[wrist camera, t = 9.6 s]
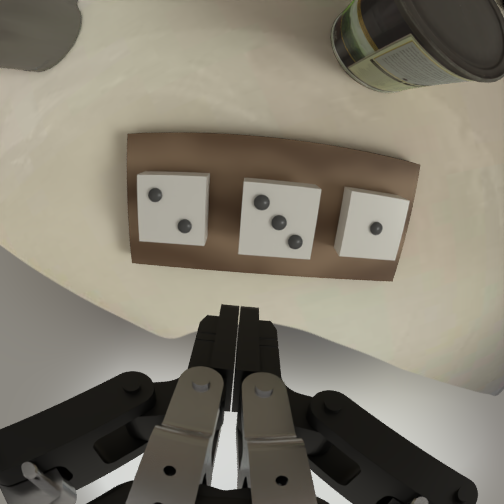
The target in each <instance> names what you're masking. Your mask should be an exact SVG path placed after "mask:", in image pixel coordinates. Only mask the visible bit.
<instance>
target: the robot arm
mask: <svg viewBox="0 0 504 504" xmlns="http://www.w3.org/2000/svg"><path fill="white" fill-rule="evenodd" d="M77 2H78V0H0V68H8V69H18V70H24V71H36V72H41V71H45V70H48V69H50V68H52V67H53V66H54V65H56V64H57V63H58V62H59V61H60V60H62V59H63V58H64V56H65V55H66V54H67V53H68V52H69V50H70V49H71V47H72V46H73V44H74V42H75V40H76V38H77V36H78V34H79V31H80V27H81V13H80V10H79V9H78V7H77ZM238 315H239V306H233V305H223V304H222V305H221V309H220V315H219V316H211V315H207V316H206V317H205V318H204V319H203V320H202V321H201V322H200V324H199V328H198V332H197V335H196V340H195V343H194V347H193V351H192V355H191V358H190V362H189V366H188V369H187V370H186V371H184V372H183V373H182V374H181V376H180V377H179V378H178V379H175V380H172V381H167V382H155V383H153V382H152V380H151V379H150V378H149V377H148V376H147V375H145V374H143V373H141V372H135V371H130V372H125V373H122V374H120V375H118V376H116V377H114V378H112V379H110V380H108V381H106V382H104V383H102V384H100V385H98V386H96V387H94V388H91V389H89V390H87V391H85V392H83V393H81V394H79V395H77V396H75V397H73V398H71V399H69V400H67V401H64V402H62V403H60V404H58V405H56V406H53V407H51V408H49V409H47V410H45V411H42V412H40V413H38V414H35V415H33V416H31V417H29V418H26V419H24V420H22V421H20V422H17V423H15V424H12V425H10V426H7V427H5V428H2V429H0V489H1V491H2V493H3V495H4V497H5V499H6V501H7V504H75V503H76V498H77V494H76V490H78V489H79V488H82V487H84V486H86V485H88V484H90V483H91V482H93V481H95V480H97V479H99V478H101V477H103V476H105V475H106V474H108V473H110V472H112V471H114V470H115V469H117V468H119V467H121V466H122V465H124V464H126V463H127V462H129V461H131V460H133V459H134V458H136V457H137V456H139V455H141V454H142V453H144V454H143V457H142V460H141V462H140V465H139V468H138V471H137V473H136V476H135V479H134V480H133V481H129V482H126V483H123V484H120V485H118V486H116V487H114V488H113V489H111V490H109V491H108V492H106V493H104V494H102V495H101V496H99V497H97V498H96V499H94V500H92V501H90V502H89V503H87V504H329V503H328V502H326V501H325V500H322V499H320V498H318V497H316V495H315V490H314V485H313V480H312V476H311V471H310V469H311V470H312V471H313V472H314V473H315V474H316V475H318V476H319V477H320V478H321V479H322V480H323V481H325V482H326V483H327V484H328V485H330V486H331V487H332V488H333V489H334V490H336V491H337V492H338V493H339V494H341V495H342V496H343V497H345V498H346V499H347V500H349V501H350V502H351V503H353V504H476V502H477V498H478V491H477V488H476V485H475V484H474V483H473V482H472V481H471V480H470V479H468V478H466V477H465V476H463V475H461V474H459V473H458V472H456V471H455V470H453V469H451V468H450V467H448V466H446V465H445V464H443V463H442V462H440V461H439V460H437V459H435V458H434V457H432V456H431V455H429V454H428V453H426V452H425V451H423V450H422V449H420V448H419V447H417V446H415V445H414V444H413V443H411V442H410V441H408V440H407V439H405V438H404V437H402V436H401V435H399V434H398V433H397V432H395V431H394V430H392V429H391V428H389V427H388V426H386V425H385V424H384V423H382V422H381V421H379V420H378V419H377V418H375V417H374V416H372V415H371V414H370V413H368V412H367V411H366V410H364V409H363V408H361V407H360V406H359V405H357V404H356V403H355V402H353V401H352V400H351V399H349V398H348V397H347V396H345V395H344V394H342V393H340V392H337V391H331V390H327V391H322V392H319V393H317V394H316V395H315V396H314V397H310V396H306V395H303V394H299V393H296V392H294V391H292V390H291V389H289V388H288V387H287V386H286V385H285V384H284V382H283V380H282V378H281V371H280V360H279V349H278V341H277V330H276V328H275V327H274V325H273V324H272V322H271V321H263V320H259V308H255V307H244V306H241V310H240V320H239V330H238V341H237V351H236V364H235V377H234V389H233V403H232V412H238V414H237V426H236V444H237V465H238V466H237V468H238V479H237V480H238V481H237V489H234V490H220V489H217V488H214V487H211V480H212V472H213V467H214V461H215V456H216V451H217V447H218V442H219V437H220V432H221V426H222V424H223V420H224V411H230V405H231V394H232V383H233V373H234V362H235V350H236V338H237V327H238Z"/></svg>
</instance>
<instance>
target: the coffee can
mask: <svg viewBox="0 0 504 504" xmlns="http://www.w3.org/2000/svg"><path fill="white" fill-rule="evenodd" d="M331 43H332V47H333V51H334V53H335V56H336V58H337V60H338V61H339V63H340V64H341V66H342V67H343V69H344V70H345V71H346V72H347V73H348V74H349V75H350V76H351V77H352V78H353V79H354V80H356V81H357V82H359V83H360V84H362V85H363V86H365V87H367V88H369V89H372V90H375V91H377V92H384V93H394V92H399V91H402V90H407V89H413V88H419V87H425V86H432V85H439V84H448V83H457V82H468V81H477V82H495V81H498V80H500V79H501V78H502V77H504V18H503V15H502V13H501V11H500V9H499V8H498V6H497V4H496V2H495V1H494V0H353V1H352V2H351V4H350V5H349V6H348V7H347V8H346V9H345V10H344V11H343V12H342V13H341V14H340V15H339V16H338V17H337V19H336V20H335V22H334V24H333V27H332V31H331Z"/></svg>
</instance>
